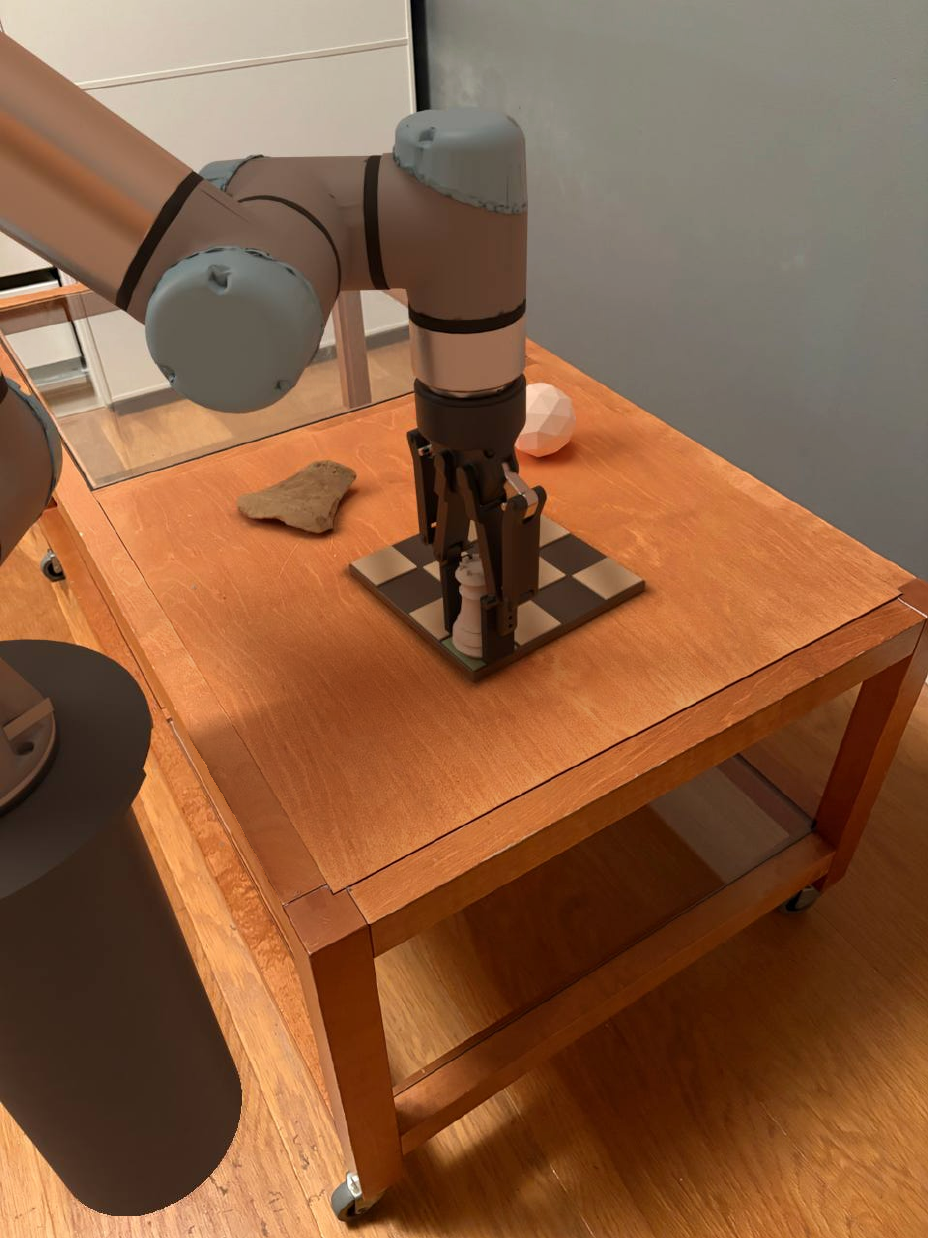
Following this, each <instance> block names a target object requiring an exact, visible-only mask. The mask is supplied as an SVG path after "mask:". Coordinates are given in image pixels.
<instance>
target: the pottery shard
mask: <svg viewBox="0 0 928 1238" xmlns="http://www.w3.org/2000/svg"><path fill="white" fill-rule="evenodd" d="M357 476H358V475H357V472H356V471H355V470H354V469H352V468H350V467H349V466H347V465H344V464H342V463H339V462H337V461H334V460H330V459H323V460H319V461H318V460H315V461H313V462H311V463H309V464H307V465H306V466H304V467H303V468H301V469H300V470H299V471H297V472H295V473H293V474H292V475H291V476H288V477H287V478H285V479H283V480H281V481H280V482H277V483H275V484H274V485H271V486H269V487H267V488H265V489H262V490H260V491H257V492H252V493H246V494H242V495H239V496H238V497H237V500H236V507H237V511H239V513H242V514H243V515H244V516H245V517H248V518H250V519H252V520H263V519H270V520H271V519H275V520H280V522H284V523H285V524H286V526H291V527H293V528H296V529H301V530H304V531H305V532H308V533H315V534H321V533H323V532H325V531H328V530H331V529H334V525H333V524H334V518H335V516H336V514H337V511H338V507H339V504H340V501H342V499H343V497H344V496H345V495H346V494H347V493H348V490H349V488H350V487H351V486H352V484H353V483H354V482H355V481H356V479H357Z"/></svg>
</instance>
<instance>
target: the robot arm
mask: <svg viewBox="0 0 928 1238" xmlns="http://www.w3.org/2000/svg"><path fill="white" fill-rule="evenodd" d="M391 151H392V152H383V153H382V154H372V155H328V156H327V155H326V156H325V155H324V156H319V155H318V156H268V155H264V154H260V153H259V154H249V155H248V156H246V157H245V158H244V157H243V158H236V159H235V158H234V159H224V160H215V161H210V162H208V163H207V164H205V165H204V166H203V167H202V168H201V169H200V170H199V171H198V173H197V172H196V171H195V170H194V169H193V168H192V167H190V165H187V164H186V163H185V162H183V161H182V160H181V159H179V158H178V157H177V156H175V155H173V154H172V153H171V152H170V151H168V150H167V149H165V148H164V147H163V146H161V145H160V144H158V143H157V142H155V141H154V140H152V138H150V137H149V136H147V135H146V134H145V133H143V132H142V131H141V130H139V129H137V128H136V127H134V125H132V124H131V123H129V122H128V121H127V120H125V119H124V118H122V117H121V116H120V115H118V114H117V113H116V112H114V111H113V110H111V109H110V108H108V107H107V106H106V105H105V104H103V103H102V102H100V101H99V100H98V99H96V98H94V96H92V95H91V94H89V93H88V92H87V91H85V90H84V89H82V88H81V87H79V86H78V85H77V84H75V83H74V81H73V82H72V81H71V80H70V79H68V78H67V77H66V76H64V75H63V74H61V73H60V72H59V71H57V70H56V69H55V68H53V67H52V66H51V65H49V64H48V63H47V62H45V61H44V60H42V59H41V58H40V57H38V56H37V55H35V54H34V53H32V52H31V51H30V50H28V49H27V48H26V47H24V46H23V45H21V44H20V43H18V42H17V41H16V40H14V39H13V38H12V37H11V36H9V35H8V34H6V33H5V32H3V31H2V30H1V29H0V233H2V234H3V235H5V236H6V237H8V238H10V239H11V240H13V241H14V242H16V243H18V244H19V245H21V246H22V247H23V248H25V249H27V250H28V251H30V252H31V253H33V254H34V255H36V256H37V257H39V258H41V259H43V260H44V261H45V262H47V263H48V264H50V265H52V267H55V268H57V269H58V270H59V271H61V272H63V273H64V274H65V275H67V276H69V277H70V278H72V279H74V280H75V281H76V282H78V283H80V284H81V285H83V286H84V287H86V288H87V289H89V290H91V291H93V293H95V294H97V295H98V296H100V297H102V298H103V299H105V300H106V301H108V302H109V303H111V304H113V305H114V306H115V307H116V308H119V309H120V310H121V311H123V312H125V314H128V315H129V316H130V317H132V318H133V319H134V320H135V321H136V322H138V323H140V324H141V325H143V326H144V334H145V341H146V342H145V343H146V346H147V348H148V353H149V355H150V357H151V359H152V361H153V363H154V364H155V365H156V366H157V368H158V369H159V371H160V373H161V374H162V375H163V376H164V378H165V379H166V380H167V381H168V383H169V386H170V387H171V388H172V389H173V390H175V391H176V392H177V393H178V394H180V395H181V396H182V397H184V398H185V399H187V400H188V401H190V402H192V403H193V404H195V405H198V406H200V407H202V408H204V409H208V410H211V411H214V412H217V413H222V414H223V413H224V414H235V415H237V414H238V415H239V414H249V413H255V412H258V411H261V410H265V409H268V408H269V407H271V406H273V405H275V404H276V403H278V402H279V401H281V400H282V399H283V398H285V396H287V395H288V394H289V393H290V392H291V391H292V389H294V387H296V385H297V384H298V382H299V381H300V379H301V377H302V375H303V374H304V371H305V370H306V369H307V368H308V367H309V366H310V365H311V364H312V362H313V360H314V359H315V357H316V356H317V355H318V353H319V351H320V346H321V341H322V338H323V336H324V334H325V329H326V326H327V325H328V321H329V318H330V315H331V313H332V311H333V309H334V306H335V305H336V302H337V300H338V298H339V296H340V294H341V292H355V291H357V292H358V291H359V292H360V291H390V290H394V289H395V290H397V289H398V290H400V289H401V290H405V293H406V298H407V317H408V318H407V319H408V331H409V332H408V333H409V349H410V363H411V366H410V367H411V371H412V375H413V376H414V377H415V378H414V382H413V393H414V408H415V419H416V420H415V422H416V427H415V428H413V429H410V430H408V431H406V434H405V435H406V436H405V437H406V441H407V444H408V447H409V448H408V449H409V451H410V455H411V459H412V465H413V466H412V467H413V477H414V478H413V479H414V489H415V498H416V511H417V521H418V522H417V523H418V532H419V533H418V534H420V539H421V542H422V543H423V544H424V545H425V546H428V545H430V544H431V546H432V547H433V548H434V549H433V554H434V557H435V559H436V560H437V561H438V562H439V570H440V584H441V587H442V595H443V610H444V626H445V630H446V631H447V632H448V633H450V634H451V633H453V625H454V623H455V621H456V620H457V617H458V616H459V614H460V613H461V607H462V595H461V593H460V592H459V587H460V586H461V583H460V582H459V581H458V580H457V578H456V577H455V572H456V570H457V569H458V567H459V566H460V562H462V558H464V557H465V556H468V557H469V560H471V559H473V557H472V556H470V555H469V554H466V555H464V556H462V555H461V553H462V552H465V551H467V550H469V549H471V548H473V547H474V545H472V546H469V545H471V544H472V543H471V542H470V541H469V540H468V535H469V527H470V520H472V521H474V523H475V528H476V534H477V540H478V545H479V551H480V556H481V562H482V567H483V573H484V578H485V584H486V589H487V594H486V595H484V596H482V597H480V604H481V633H482V662H484V663H485V664H486V665H487V666H490V665H492V664H494V663H496V662H497V661H499V660H501V659H503V658H505V657H507V656H509V655H510V654H512V653H514V652H515V630H516V628H517V626H518V620H517V619H518V616H517V615H518V606H520V605H522V604H524V603H526V602H528V601H530V600H532V599H534V598H536V597H537V596H538V586H539V552H540V517H541V514H543V510H544V507H545V505H546V503H547V499H548V493H547V491H546V489H545V488H544V487H543V486H542V485H536V486H534V487H531V488H530V487H529V485H528V484H527V483H526V482H525V481H524V479H523V478H522V477H521V476H520V475H519V473H520V464H519V461H518V458H517V454H516V446H515V443H516V440H517V438H518V437H519V435H520V433H521V431H522V430H523V428H524V426H525V423H526V386H527V379H526V378H527V377H526V375H525V374H524V371H525V369H526V366H527V351H526V350H527V348H526V347H527V344H526V343H527V341H526V340H527V339H526V338H527V334H526V333H527V330H526V329H527V327H526V325H527V324H526V323H527V321H526V320H527V319H526V318H527V313H526V312H527V311H526V310H527V272H528V271H527V268H528V267H527V266H528V265H527V263H528V255H527V254H528V215H529V214H528V213H529V212H528V211H529V210H528V209H529V203H528V202H529V200H528V199H529V198H528V197H529V196H528V182H527V180H528V179H527V157H526V137H525V134H524V131H523V130H522V127H521V125H520V124H519V123H518V121H517V120H516V119H515V118H514V117H512V116H511V115H510V114H508V113H506V112H503V111H501V110H498V109H494V108H489V107H481V106H480V107H479V106H448V107H443V108H439V109H425V110H421V111H416V112H413V113H411V114H409V115H407V116H405V117H403V118H402V119H401V120H400V121H399V122H398V123H397V125H396V128H395V130H394V144H393V146H392V149H391ZM21 388H22V386H21V384H20V383H19V382H17V381H15V380H14V379H12V378H10V377H7V376H6V375H4V372H3V371H2V367H0V567H1V566H2V565H3V564H4V563H5V561H7V559H8V558H9V556H10V555H11V553H12V552H13V551H14V549H15V548H16V547H17V546H18V544H19V543H20V542H21V541H22V539H23V538H24V537H25V535H26V534H27V532H28V531H29V530H30V529H31V527H32V526H33V525H34V524H35V523H36V522H37V521H38V520H39V519H40V518H41V517H42V516H43V512H44V511H46V509H47V508H48V506H49V504H50V502H51V500H52V497H53V493H54V491H55V490H56V489H57V486H58V484H59V482H60V478H61V477H62V472H63V461H64V455H63V445H62V440H61V438H60V434H59V431H58V429H57V426H56V425H55V422H54V420H53V418H52V416H51V414H50V413H49V412H48V411H47V409H46V407H45V406H44V405H43V403H42V402H41V401H40V400H39V399H38V398H37V397H36V396H35V395H34V394H28V393H25V392H24V391H23V390H21ZM433 524H435V525H433ZM53 710H54V709H53V706H52V704H51V702H50V700H49V697H48V698H46V699H44V698H43V697H42V695H41V694H40V693H39V692H38V691H37V690H36V689H35V688H34V687H33V686H32V685H30V684H29V683H28V682H27V681H26V680H25V679H24V678H23V677H22V676H21V675H19V674H18V673H17V672H16V671H15V670H14V669H13V668H12V667H11V666H10V665H8V664H7V663H6V662H5V661H4V660H3V659H2V658H1V657H0V818H1V817H3V816H4V815H6V814H7V813H9V812H10V811H11V810H13V809H14V808H15V807H17V806H18V805H19V804H20V803H22V802H23V801H24V800H25V799H26V798H27V797H28V796H29V795H30V794H31V793H32V792H33V791H34V790H35V789H36V788H37V787H38V786H39V785H40V783H41V782H42V781H43V780H44V778H45V777H46V775H47V774H48V772H49V771H50V769H51V767H52V765H53V763H54V761H55V759H56V756H57V753H58V749H59V743H60V733H59V728H58V724H57V722H56V720H55V717H54V715H53V713H52V711H53Z"/></svg>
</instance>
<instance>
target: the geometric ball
mask: <svg viewBox="0 0 928 1238" xmlns="http://www.w3.org/2000/svg"><path fill="white" fill-rule="evenodd" d="M577 421H578V420H577V416H576V413H575V410H574V406H573V402H572V399H571V398H570V397H569V396H568V395H567V394H566V393H565V392H564V391H562V390H561V389H559V388H558V387H557V386H555V385H553V384H551V383H550V384H549V383H545V382H537V383H530V384H528V385H526V423H525V426H524V428H523V430H522V431H521V433H520V435H519V437H518V438H517V440H516V443H515V446H514V447H515V448H516V449H517V450H519V451H520V452H522V453H526V454H528V455H530V456H533V457H536V458H541V457H544V456H548V455H552V454H554V453H556V452H558V451H559V450H561V449H562V448H563V447H564V446H565V445H567V444H568V443H570V440H571V438H572V435H573V432H574V431H575V427H576V424H577Z"/></svg>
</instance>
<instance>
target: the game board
mask: <svg viewBox="0 0 928 1238" xmlns="http://www.w3.org/2000/svg"><path fill="white" fill-rule="evenodd" d="M468 540H469V541H470V542H471V543H472V544H471V545H469V546H472V545H474V547H473V548H471V549H469V550H467V551H465V552H462V553H461V555H462V556H464V555H466V554H469V555H470V556H472V557H473V554H479V559H481V556H480V551H479V545H478V540H477V534H476V528H475V523H474V521H472V520H470V527H469V535H468ZM433 549H434V548H433V547H432V546H431V544H430V545H428V546H425V545H424V544H423V543H422V542H421V539H420V534H419V533H416V534H414V535H412V536H410V537H407V538H405V539H402V540H400V541H398V542H396V543H394V544H391V545H388V546H385V547H383V548H381V549H379V550H376V551H373V552H372V553H370V554H367V555H364V556H363V557H361V558H358V559H356V560H354V561H351V562H350V563H349V564H348V571H349V574H350V575H352V577H354V578H355V579H356V580H357V581H358V582H359V583H361V584H362V586H364V587H365V588H366V589H367V590H368V591H369V592H371V593H372V594H373V595H374V596H375V597H376V598H377V599H378V600H380V601H381V602H382V603H383V604H384V605H385V606H386V607H387V608H389V609H390V610H391V611H392V612H393V613H395V614H396V615H397V616H398V617H399V618H400V619H401V620H402V621H404V622H405V623H406V624H407V625H408V626H409V627H410V628H412V629H413V631H415V632H416V633H417V634H418V635H419V636H421V637H422V638H423V639H424V640H425V641H426V642H427V643H428V644H430V645H431V647H433V648H434V649H435V650H436V651H437V652H439V653H440V654H441V655H442V656H443V657H444V658H445V659H446V660H447V661H449V663H451V664H452V665H453V666H454V667H456V669H457V670H459V671H460V672H461V673H462V674H463V675H464V676H466V677H467V678H468V679H469V680H470V681H471V682H472V683H476V682H479V681H480V680H483V679H484V678H485V677H488V676H490V675H491V674H493V673H494V672H496V671H498V670H500V669H502V668H504V667H506V666H507V665H510V664H511V663H513V662H515V661H517V660H519V659H520V658H523V657H525V656H526V655H528V654H529V653H532V652H534V651H535V650H537V649H539V648H541V647H543V646H544V645H546V644H548V643H550V642H552V641H554V640H556V639H557V638H559V637H561V636H563V635H564V634H566V633H568V632H570V631H573V630H574V629H576V628H578V627H579V626H581V625H583V624H585V623H587V622H589V621H590V620H592V619H594V618H596V617H597V616H599V615H602V614H603V613H605V612H607V611H609V610H611V609H612V608H614V607H617V606H618V605H619V604H621V603H623V602H625V601H628V600H629V599H631V598H632V597H635V596H636V595H639V594H640V593H642V592H644V591H645V590H646V580H644V579H643V578H641V577H640V576H639V575H637V574H635V573H634V572H632V571H631V570H629V569H628V568H626V567H624V566H623V565H622V564H620V563H619V562H617V561H615V560H614V559H613V558H611V557H609V556H607V555H605V554H604V553H602V552H601V551H600V550H598V549H597V548H595V547H593V546H591V545H590V544H589V543H587V542H586V541H584V540H583V539H581V538H579V537H577V536H576V535H575V534H573V533H572V532H571V531H569V530H567V529H566V528H564V527H563V526H561V525H560V524H558V523H557V522H555V521H554V520H553V519H551V518H549V517H548V516H546V515H545V514H543V513H541V517H540V552H539V586H538V596H537V597H536V598H534V599H532V600H530V601H528V602H526V603H524V604H522V605H520V606H518V615H517V616H518V619H517V620H518V626H517V628H516V630H515V652H514V653H512V654H510V655H509V656H507V657H505V658H503V659H501V660H499V661H497V662H496V663H494V664H492V665H490V666H487V665H486V664H485V663H484V662H482V658H474V657H470V656H466V655H465V654H463V653H462V652H460V651H459V650H458V649H456V647H455V646H454V644H453V633H451V634H450V633H448V632H447V631H446V630H445V626H444V610H443V595H442V587H441V584H440V570H439V562H438V561H437V560H436V559H435V557H434V554H433Z"/></svg>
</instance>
